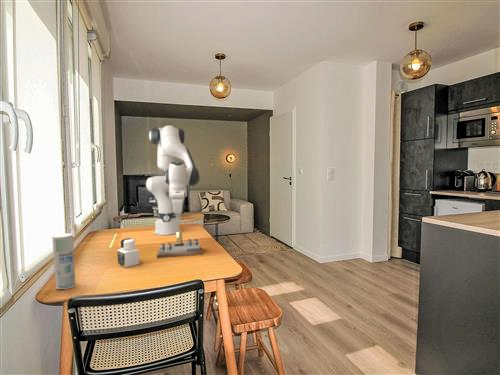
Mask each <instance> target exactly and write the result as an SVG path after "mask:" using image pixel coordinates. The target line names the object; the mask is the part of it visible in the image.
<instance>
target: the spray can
mask: <svg viewBox="0 0 500 375" xmlns="http://www.w3.org/2000/svg"><path fill="white" fill-rule="evenodd" d="M52 250H53V263H54V264H53V265H54V276H55V277H54V278H55V289H56V288H57V289H66V290H69V289H72V288H74V287H75V286H76V277H75V276H76V275H75V274H76V272H75V254H74V253H75V252H74V251H75V250H74V234H73V233H71V232H70V233H67V232H66V233H58V234H55V235H53V236H52ZM68 288H69V289H68ZM57 289H56V290H57Z"/></svg>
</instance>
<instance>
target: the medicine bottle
mask: <svg viewBox="0 0 500 375" xmlns="http://www.w3.org/2000/svg"><path fill="white" fill-rule="evenodd" d="M135 240H136V239H135V238H131V237H129V238H123V239H122V240H121V241H120V248H119V249H117V265H119V266H120V267H122V268H124V269H126V268H130V267H134V266H137V265H140V249H138V248H136V241H135Z"/></svg>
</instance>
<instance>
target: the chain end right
mask: <svg viewBox="0 0 500 375" xmlns="http://www.w3.org/2000/svg"><path fill="white" fill-rule="evenodd" d="M172 246H173V247H172V249H173V250H179V249H187V252H191V251H199V246H200V242H199V240H198V238H194V240H193V241H192V239H191V238H188V240H187V242H183V246H177V242H176V243H175V242H174V243H172Z"/></svg>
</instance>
